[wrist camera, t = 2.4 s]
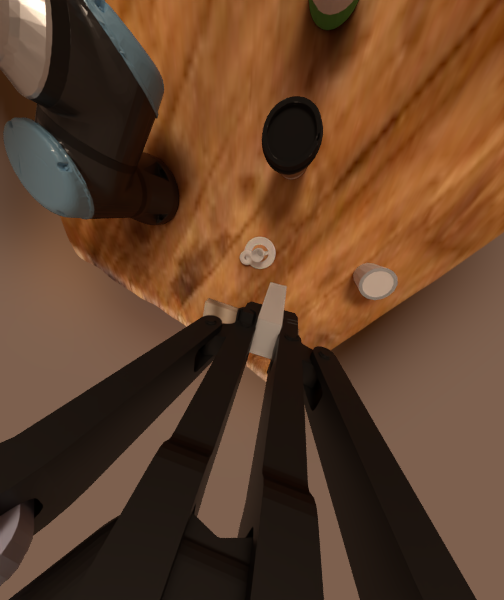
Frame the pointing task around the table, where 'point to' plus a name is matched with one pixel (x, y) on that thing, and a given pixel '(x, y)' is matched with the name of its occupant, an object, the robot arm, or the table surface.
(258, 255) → the teacup and saucer
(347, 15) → the wine bottle
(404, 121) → the table surface
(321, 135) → the coffee cup
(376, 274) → the white cup
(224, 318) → the box with square hole
